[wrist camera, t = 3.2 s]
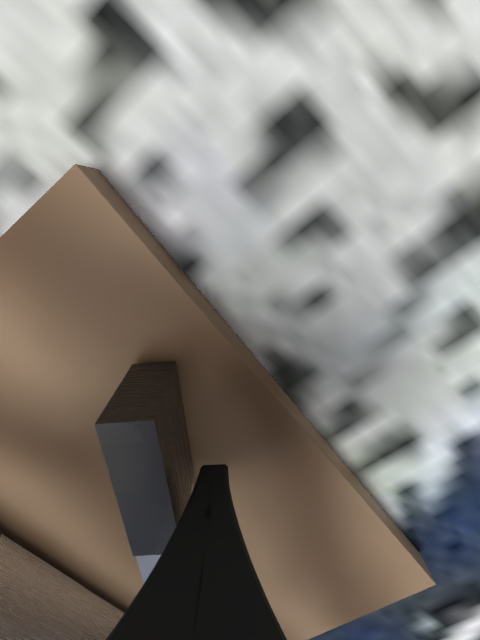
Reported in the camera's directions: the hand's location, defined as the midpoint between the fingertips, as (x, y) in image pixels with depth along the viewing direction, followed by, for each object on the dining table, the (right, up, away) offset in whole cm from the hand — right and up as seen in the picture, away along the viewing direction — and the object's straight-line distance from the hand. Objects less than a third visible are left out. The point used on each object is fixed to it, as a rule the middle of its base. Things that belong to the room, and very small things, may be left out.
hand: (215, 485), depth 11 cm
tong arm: (-1, -4, +3) cm, 5 cm away
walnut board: (-4, -3, +4) cm, 6 cm away
